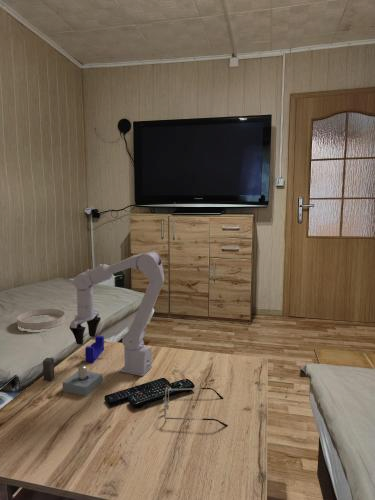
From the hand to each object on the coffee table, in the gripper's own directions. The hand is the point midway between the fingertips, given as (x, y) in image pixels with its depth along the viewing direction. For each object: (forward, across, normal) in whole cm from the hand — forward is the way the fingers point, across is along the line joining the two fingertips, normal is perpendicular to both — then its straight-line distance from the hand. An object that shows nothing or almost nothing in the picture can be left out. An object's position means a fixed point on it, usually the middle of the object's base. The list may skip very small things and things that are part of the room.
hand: (86, 340), depth 126 cm
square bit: (+10, +13, -6) cm, 17 cm away
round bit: (+10, +13, +8) cm, 18 cm away
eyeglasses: (+11, +12, +47) cm, 49 cm away
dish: (+10, -28, -47) cm, 56 cm away
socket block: (+10, +13, +8) cm, 18 cm away
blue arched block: (+10, -8, -2) cm, 13 cm away
